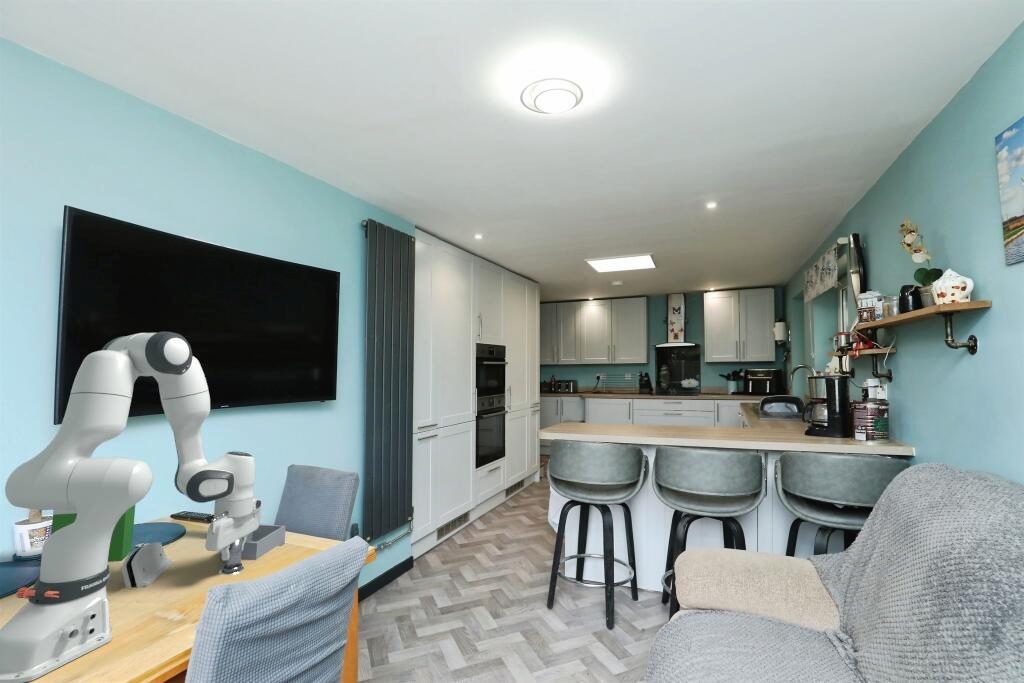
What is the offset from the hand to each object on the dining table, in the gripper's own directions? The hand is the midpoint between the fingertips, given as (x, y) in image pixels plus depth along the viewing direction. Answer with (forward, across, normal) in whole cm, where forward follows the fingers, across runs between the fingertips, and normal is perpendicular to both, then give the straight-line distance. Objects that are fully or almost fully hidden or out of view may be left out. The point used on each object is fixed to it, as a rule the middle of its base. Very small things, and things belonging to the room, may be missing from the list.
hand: (232, 555), depth 139 cm
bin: (+5, +16, +3) cm, 18 cm away
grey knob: (+4, 0, 0) cm, 4 cm away
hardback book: (+5, +4, +47) cm, 47 cm away
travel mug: (+5, +28, +22) cm, 36 cm away
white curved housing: (+6, -6, +21) cm, 22 cm away
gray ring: (+5, 0, 0) cm, 5 cm away
